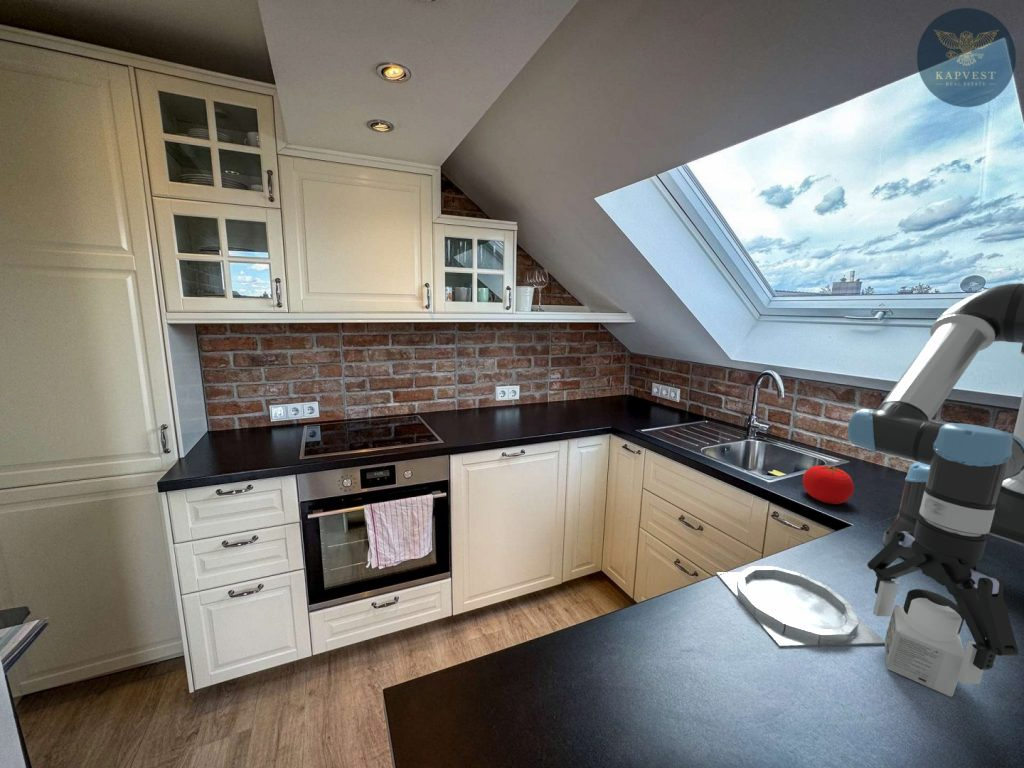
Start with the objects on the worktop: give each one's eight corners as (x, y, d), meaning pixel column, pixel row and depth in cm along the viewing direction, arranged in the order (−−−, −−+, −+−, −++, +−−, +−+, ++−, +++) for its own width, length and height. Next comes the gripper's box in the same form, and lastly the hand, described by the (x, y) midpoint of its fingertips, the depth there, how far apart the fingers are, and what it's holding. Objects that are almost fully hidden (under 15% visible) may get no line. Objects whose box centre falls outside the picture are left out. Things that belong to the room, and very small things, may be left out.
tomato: (821, 509, 125) (828, 474, 123) (792, 490, 138) (797, 458, 136) (860, 510, 125) (867, 475, 123) (827, 491, 138) (833, 459, 136)
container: (884, 640, 74) (902, 576, 71) (945, 665, 70) (967, 598, 67) (885, 669, 69) (905, 601, 66) (952, 699, 64) (977, 627, 61)
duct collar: (802, 573, 94) (803, 565, 93) (886, 644, 74) (889, 634, 74) (716, 574, 92) (717, 565, 92) (779, 647, 73) (781, 637, 72)
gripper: (857, 489, 76) (835, 593, 80) (1034, 576, 52) (991, 719, 56) (895, 490, 77) (872, 593, 81) (1088, 575, 52) (1042, 718, 56)
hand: (920, 645), depth 68 cm, fingers open, 13 cm apart
